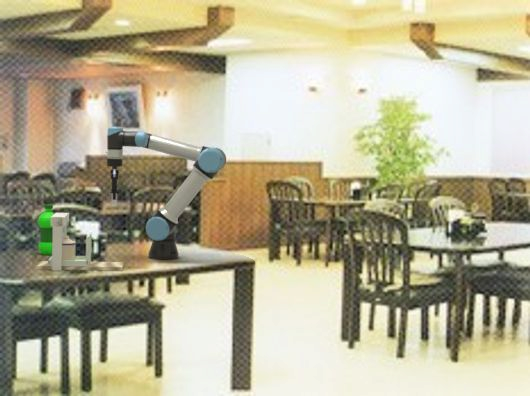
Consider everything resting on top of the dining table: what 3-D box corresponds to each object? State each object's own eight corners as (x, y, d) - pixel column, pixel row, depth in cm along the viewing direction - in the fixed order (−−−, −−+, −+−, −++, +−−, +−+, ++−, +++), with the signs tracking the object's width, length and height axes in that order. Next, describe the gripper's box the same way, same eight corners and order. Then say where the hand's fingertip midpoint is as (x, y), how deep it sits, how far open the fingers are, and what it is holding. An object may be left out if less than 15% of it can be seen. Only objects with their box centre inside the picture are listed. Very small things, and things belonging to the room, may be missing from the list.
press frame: (68, 263, 446) (69, 212, 444) (63, 270, 422) (64, 217, 420) (55, 263, 445) (56, 212, 443) (49, 270, 421) (50, 217, 419)
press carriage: (90, 261, 443) (91, 232, 442) (88, 266, 426) (88, 236, 425) (51, 260, 441) (52, 232, 440) (47, 265, 424) (48, 236, 423)
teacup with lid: (79, 261, 434) (80, 236, 433) (65, 263, 426) (65, 238, 426) (61, 259, 440) (61, 234, 440) (46, 260, 433) (47, 235, 432)
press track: (123, 265, 445) (123, 262, 445) (122, 270, 428) (122, 267, 428) (41, 264, 441) (41, 260, 441) (37, 269, 424) (37, 266, 424)
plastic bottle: (61, 255, 475) (62, 205, 473) (41, 255, 469) (42, 205, 467) (54, 252, 483) (54, 203, 481) (34, 253, 477) (35, 204, 475)
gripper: (107, 157, 468) (106, 205, 469) (106, 158, 455) (106, 207, 456) (122, 158, 469) (121, 205, 470) (122, 158, 456) (121, 207, 457)
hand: (114, 206), depth 463 cm, fingers closed
